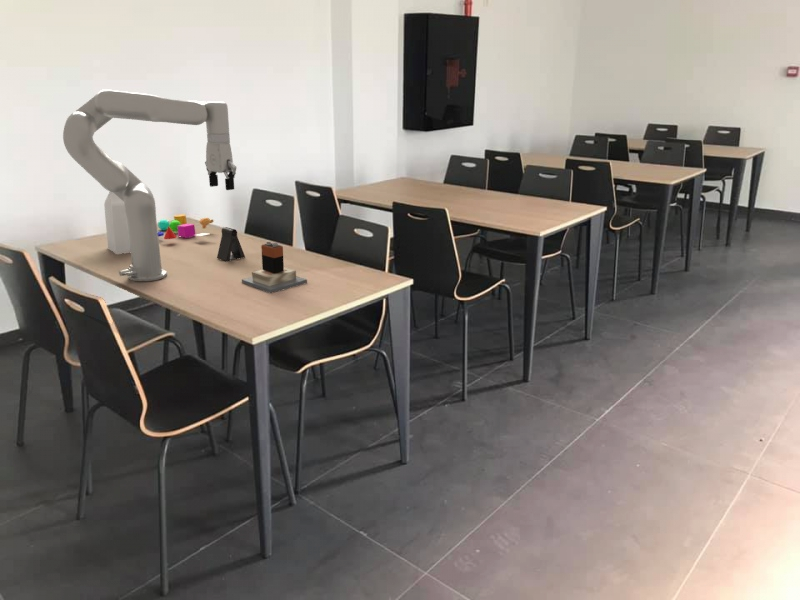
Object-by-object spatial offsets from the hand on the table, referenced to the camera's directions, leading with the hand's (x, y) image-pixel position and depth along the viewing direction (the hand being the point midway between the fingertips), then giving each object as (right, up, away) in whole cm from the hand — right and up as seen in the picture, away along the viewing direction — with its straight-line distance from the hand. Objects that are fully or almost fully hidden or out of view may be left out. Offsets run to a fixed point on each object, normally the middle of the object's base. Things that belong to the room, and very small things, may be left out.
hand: (221, 187), depth 224 cm
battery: (+19, -30, -5) cm, 36 cm away
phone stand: (-3, -24, +25) cm, 34 cm away
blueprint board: (+20, -34, -4) cm, 39 cm away
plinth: (+20, -33, -4) cm, 38 cm away
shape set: (-34, -12, +56) cm, 66 cm away
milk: (-48, -19, +33) cm, 62 cm away
